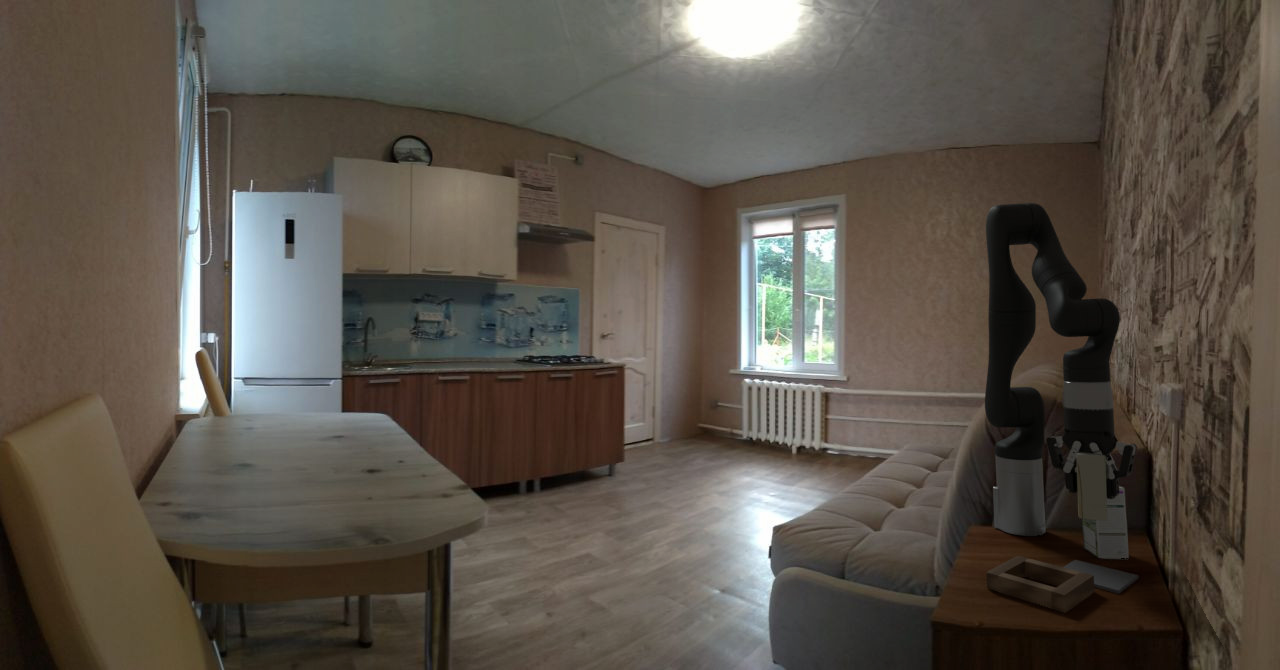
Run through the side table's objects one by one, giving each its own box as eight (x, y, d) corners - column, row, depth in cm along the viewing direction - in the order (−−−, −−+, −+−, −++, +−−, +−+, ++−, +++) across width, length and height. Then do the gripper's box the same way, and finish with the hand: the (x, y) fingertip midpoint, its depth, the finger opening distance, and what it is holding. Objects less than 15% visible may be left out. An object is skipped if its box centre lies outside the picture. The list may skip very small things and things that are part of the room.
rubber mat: (1053, 576, 112) (1053, 572, 112) (1075, 562, 118) (1075, 559, 118) (1118, 593, 104) (1118, 590, 104) (1138, 578, 109) (1138, 575, 109)
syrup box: (1130, 559, 118) (1127, 487, 118) (1096, 558, 119) (1093, 487, 119) (1113, 549, 124) (1110, 480, 124) (1081, 548, 125) (1078, 480, 125)
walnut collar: (987, 588, 108) (986, 572, 108) (1018, 570, 115) (1017, 555, 115) (1065, 613, 98) (1064, 595, 98) (1094, 592, 105) (1093, 575, 105)
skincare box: (1077, 510, 115) (1074, 447, 115) (1107, 513, 112) (1103, 449, 112) (1078, 518, 110) (1075, 453, 110) (1109, 522, 107) (1105, 455, 107)
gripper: (1142, 405, 107) (1147, 499, 107) (1052, 400, 119) (1056, 484, 119) (1128, 410, 103) (1132, 507, 103) (1036, 404, 115) (1040, 491, 115)
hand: (1091, 494), depth 111 cm, fingers closed on skincare box, 5 cm apart
